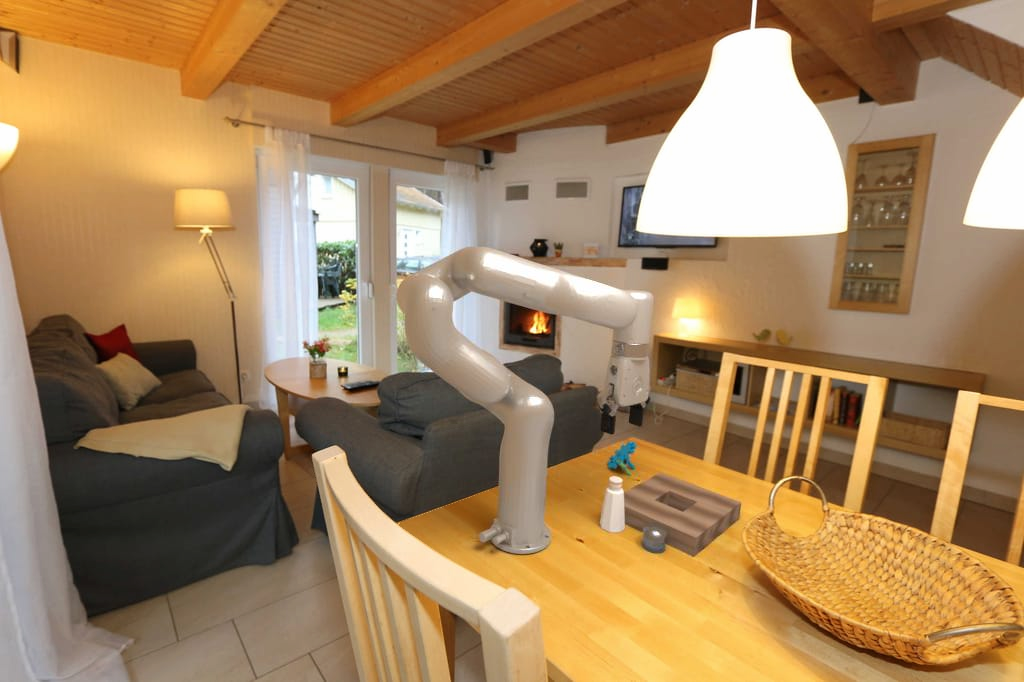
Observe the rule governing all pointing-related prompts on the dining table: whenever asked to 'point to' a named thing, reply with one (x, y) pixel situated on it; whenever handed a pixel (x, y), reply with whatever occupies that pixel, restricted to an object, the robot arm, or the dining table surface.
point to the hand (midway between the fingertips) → (621, 428)
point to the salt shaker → (613, 507)
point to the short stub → (654, 538)
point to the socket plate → (680, 511)
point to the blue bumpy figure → (623, 457)
